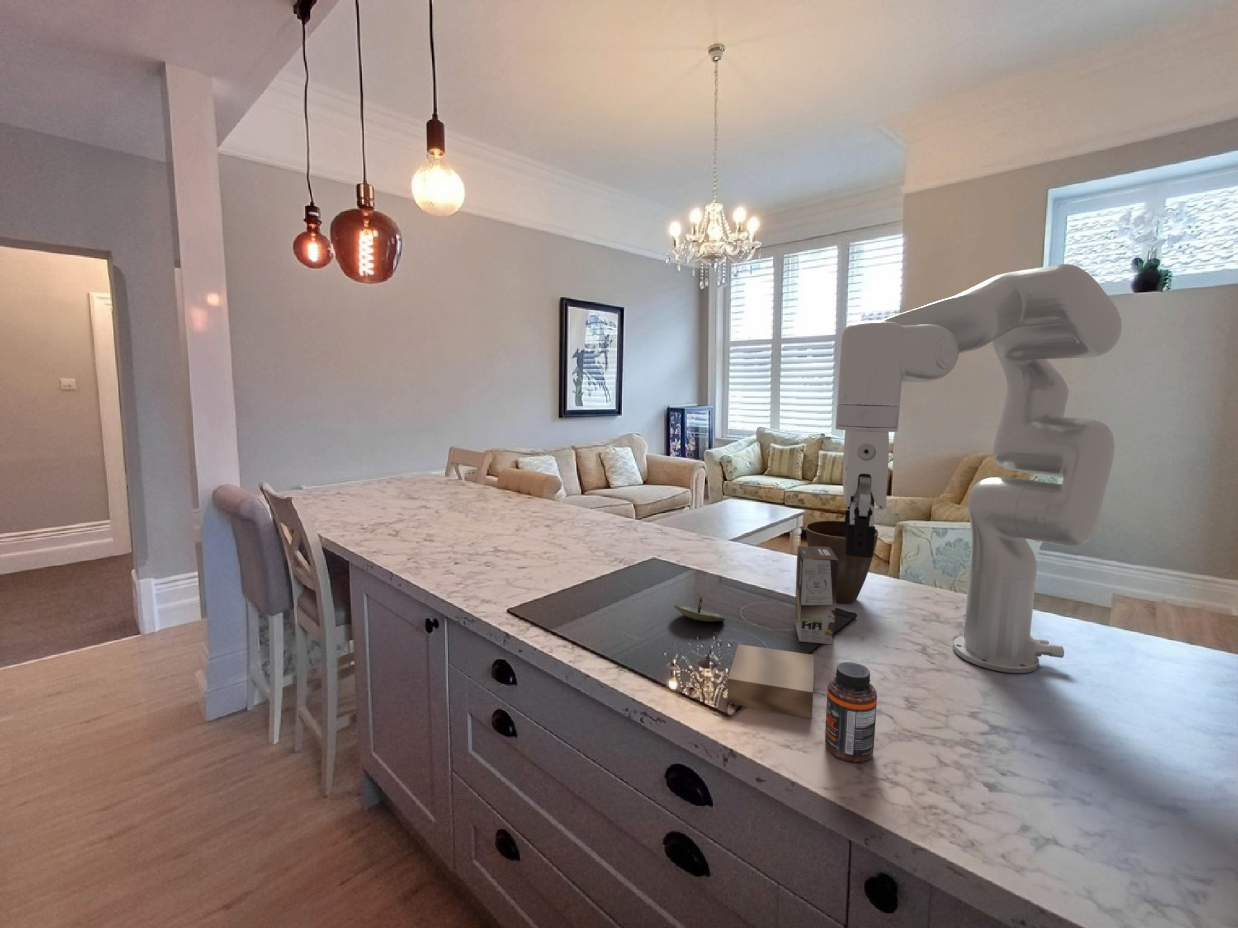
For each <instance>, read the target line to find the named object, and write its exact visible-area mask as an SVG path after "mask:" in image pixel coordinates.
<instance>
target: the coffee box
mask: <svg viewBox="0 0 1238 928" xmlns="http://www.w3.org/2000/svg"><path fill="white" fill-rule="evenodd" d="M796 549H797V550H796V570H795V571H796V572H795V573H796V575H795V576H796V578H795V597H794V598H795V604H794V625H795V631H796V634H797V637H798V638H797V639H798V641H799V642H802V643H803V642H805V643H814V644H825V645H833V644H834V640H835V622H836V621H835V620H836V605H837V603H836V590H837V573H838V561H839V560H838V559H837V557H836V556H835V554H834V553H833V551H832V550H831V548H830V547H817V546H809V547H808V546H802V545H797V547H796Z"/></svg>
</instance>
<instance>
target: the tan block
mask: <svg viewBox="0 0 1238 928" xmlns="http://www.w3.org/2000/svg"><path fill="white" fill-rule="evenodd" d="M735 650H736V651H735V654H734V658H733V661H732V664H731V668H730V671H729V674H728V678H727V696H726V697H727V698H726V699H727V700H726V701H727V703H731V704H730V705H732V704H735V705H734V706H738V705H742V706H741V707H744V708H749V709H750V708H751V709H755V710H762V711H767V712H773V713H779V714H783V715H784V714H785V715H789V716H796V717H800V718H806V719H807V718H808V719H812V718H813V702H814V700H813V697H814V654H810V653H802V652H796V651H795V652H794V651H788V650H782V649H775V648H768V647H767V648H766V647H760V646H754V645H753V646H752V645H746V644H738V645H737V647H736V649H735ZM727 703H726V704H727Z"/></svg>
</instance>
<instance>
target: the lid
mask: <svg viewBox="0 0 1238 928" xmlns="http://www.w3.org/2000/svg"><path fill="white" fill-rule="evenodd" d="M702 606H703V596H700V598H699V602H698V606H697V607H698V608H696V607H693V606H688V605H683V604H676V603H675V604H674V605H673V607H674V609H676V610H677V611H678V612H679V613H681V614H682V615H683V616H684V617H686V618H691V619H692V620H693V621H702V622H713V623H714V622H719V621H721V622H724V621H725V620H726V618H725V616H724V615H722V614H720V613H716V612H713V611H708V610H705V609H702Z"/></svg>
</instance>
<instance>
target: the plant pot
mask: <svg viewBox="0 0 1238 928" xmlns="http://www.w3.org/2000/svg"><path fill="white" fill-rule="evenodd" d="M844 525H845V520H843V521H842V520H818V521H813V522H810V523H807V524H806V525H805V535H806V542H807V547H809V546H817V547H830V548H831V550H832V551H833V553H834V554H835V556H836V557H837V559H838V560H839V561H838V573H837V590H836V604H839V605H840V604H842V605H845V604H846V605H847V604H848V605H849V604H852V603H855V602H856V601H857V599H858V596H859V595H860V593H861V591H862V589H863V586H864V584H865V582H866V579H867V576H868V574H869V571H870V568H871V565H872V562H873V558H874V555H875V550H876V547H877V542H878V536H879V530H878V529H876V528H875V535H874V547H873V556H872V557H871V558H865V557H856V556H848V555H846V553H845V549H846V538H845V537H844Z"/></svg>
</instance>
